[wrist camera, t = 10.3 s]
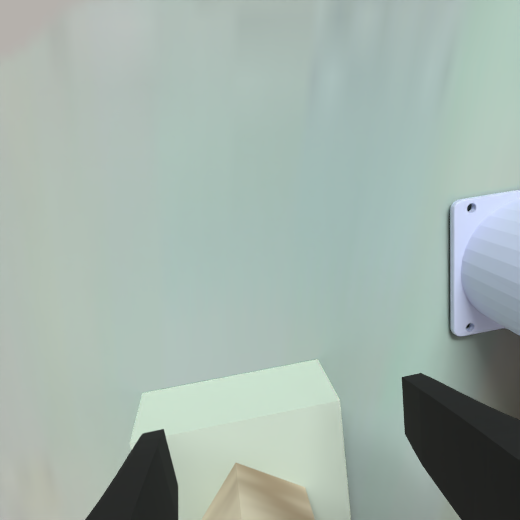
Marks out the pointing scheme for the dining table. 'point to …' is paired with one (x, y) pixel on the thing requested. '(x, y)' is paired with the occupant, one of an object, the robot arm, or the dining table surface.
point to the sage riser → (253, 434)
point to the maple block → (258, 498)
